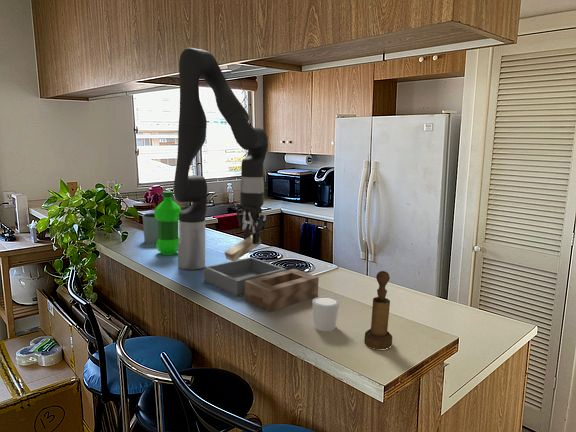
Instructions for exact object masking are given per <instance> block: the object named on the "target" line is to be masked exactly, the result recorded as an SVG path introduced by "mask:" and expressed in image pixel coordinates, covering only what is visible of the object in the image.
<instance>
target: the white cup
mask: <svg viewBox="0 0 576 432" xmlns="http://www.w3.org/2000/svg"><path fill="white" fill-rule="evenodd" d="M311 302H312V303H311V304H312V319H313V322H312V323H313V328H314V329H315V330H316V331H320V332H332V331H334V330H335V329H336V326H337V317H338V310H339V305H340V301H339V300H338V299H336V298H334V297H330V296H316V297H313V299H312V301H311Z"/></svg>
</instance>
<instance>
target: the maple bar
mask: <svg viewBox="0 0 576 432" xmlns="http://www.w3.org/2000/svg"><path fill="white" fill-rule="evenodd" d="M260 245H262V240H261V237H260V236H259V243H258V244H253V242H252V234H250V237H248V238H246V239H245V240H244V239H243V240H241V241H240V242H238V243H237V244H235V245H233V246H232V247H230V248H228V249H227V250H225V251H224V256H225V258H226V260H229V261H230V262H231V261H236V260H240V258H242V257H243V256H245V255H247V254H248V253H249V252H251V251H253V250H254V249H256V248H257V247H258V246H260Z"/></svg>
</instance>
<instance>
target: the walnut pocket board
mask: <svg viewBox="0 0 576 432" xmlns="http://www.w3.org/2000/svg"><path fill="white" fill-rule="evenodd" d="M319 281H320V280H319V276H316V275H314V274H311V273H308V272H304V271H302V270H300V269H296V268H292V269H288V270H287V269H286V271H282V272H278V273H274V274H271V275H267V276H263V277H259V278H255V279H251V280H247V281H245V295H244V297H243V298H244V302H247V303H249V304H251V305H254V306H256V307H258V308H259V309H262V310H264V311H266V312H273V311H275V310H279V309H282V308H285V307H288V306H292V305H294V304H297V303H300V302H303V301H307V300H309V299H312V298H313V299H314V298H317V297H319V296H318V295H319Z"/></svg>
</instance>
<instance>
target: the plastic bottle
mask: <svg viewBox="0 0 576 432" xmlns="http://www.w3.org/2000/svg"><path fill="white" fill-rule="evenodd" d="M161 195H162V198H163V201H161V202H160V203H159V204H158V205H157V206H156V207H155V209H154V212H153V213H154V215H155V218H156V219H157V220H158V240H157V242H156V244H155V248H156V249H157V250H158V252H160V253H161V254H162V255H164V256H172V255H173V256H174V255H176V253H178V242H179V213H180V212H181V211H182V208H181V206H180V205H178V203H176V202H175V201H174V200H173V197H174V191H172V190H171V191H169V190H163V191H162V192H161Z"/></svg>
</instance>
